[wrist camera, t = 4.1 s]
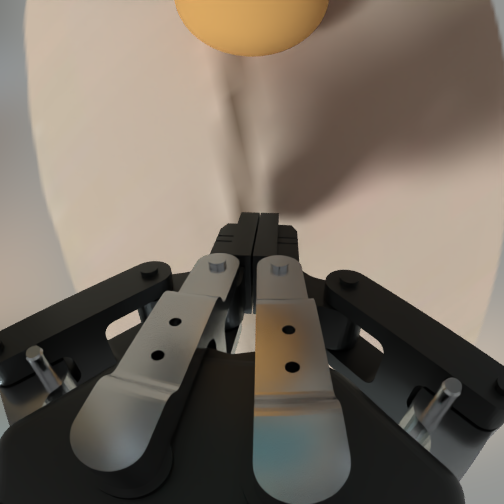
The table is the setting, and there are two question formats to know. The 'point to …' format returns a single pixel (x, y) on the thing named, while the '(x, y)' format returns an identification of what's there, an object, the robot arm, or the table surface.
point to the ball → (251, 23)
